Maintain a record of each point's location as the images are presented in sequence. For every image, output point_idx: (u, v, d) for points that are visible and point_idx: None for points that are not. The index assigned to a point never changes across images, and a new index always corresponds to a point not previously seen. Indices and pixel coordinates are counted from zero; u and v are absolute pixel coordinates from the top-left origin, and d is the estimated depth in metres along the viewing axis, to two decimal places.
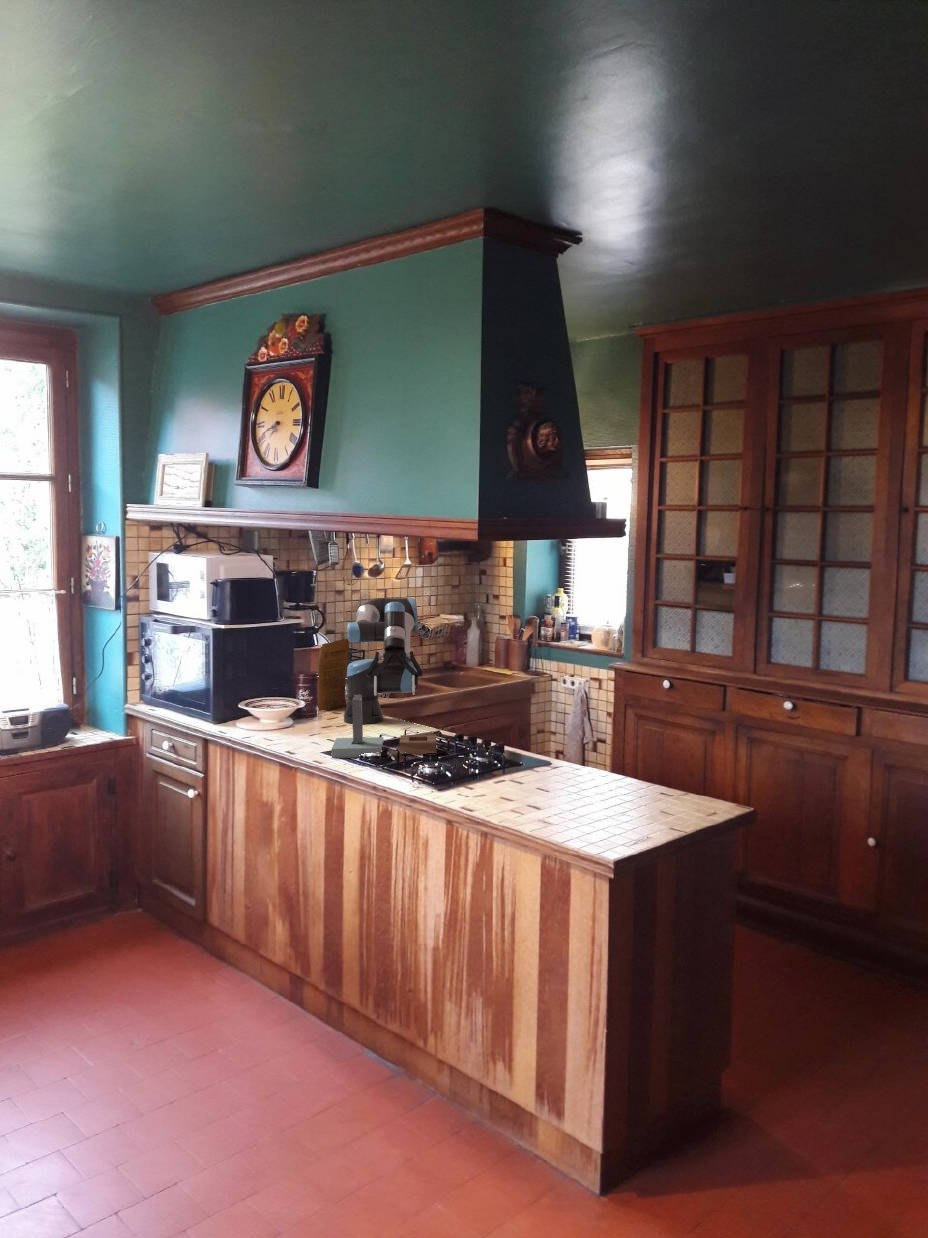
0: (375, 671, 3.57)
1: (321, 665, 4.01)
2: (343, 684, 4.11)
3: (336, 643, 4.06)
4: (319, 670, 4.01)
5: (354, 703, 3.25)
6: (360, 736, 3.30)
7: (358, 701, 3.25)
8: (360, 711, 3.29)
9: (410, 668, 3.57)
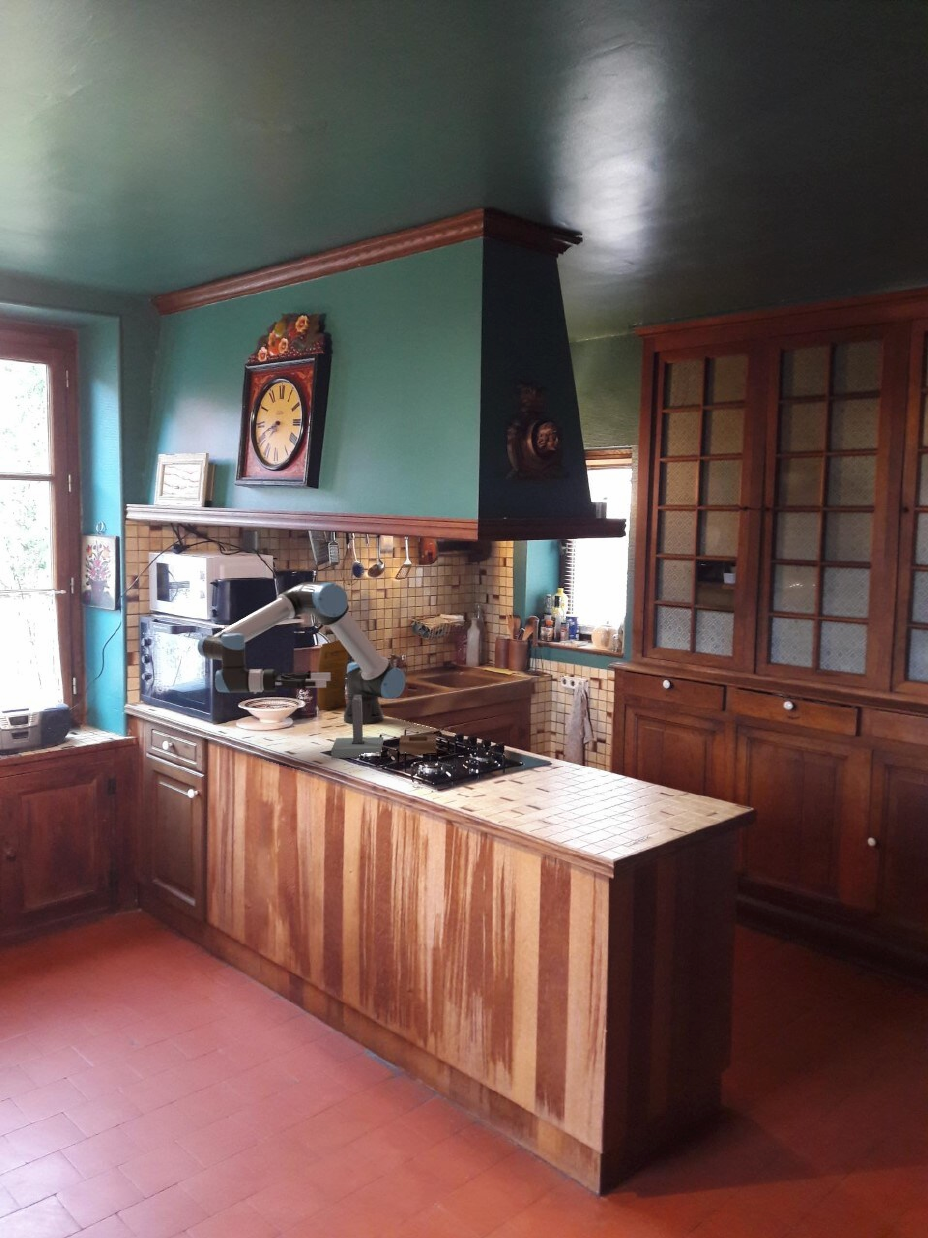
0: (305, 680, 3.36)
1: (321, 665, 4.01)
2: (343, 684, 4.11)
3: (336, 643, 4.06)
4: (319, 670, 4.01)
5: (354, 703, 3.25)
6: (360, 736, 3.30)
7: (358, 701, 3.25)
8: (360, 711, 3.29)
9: None
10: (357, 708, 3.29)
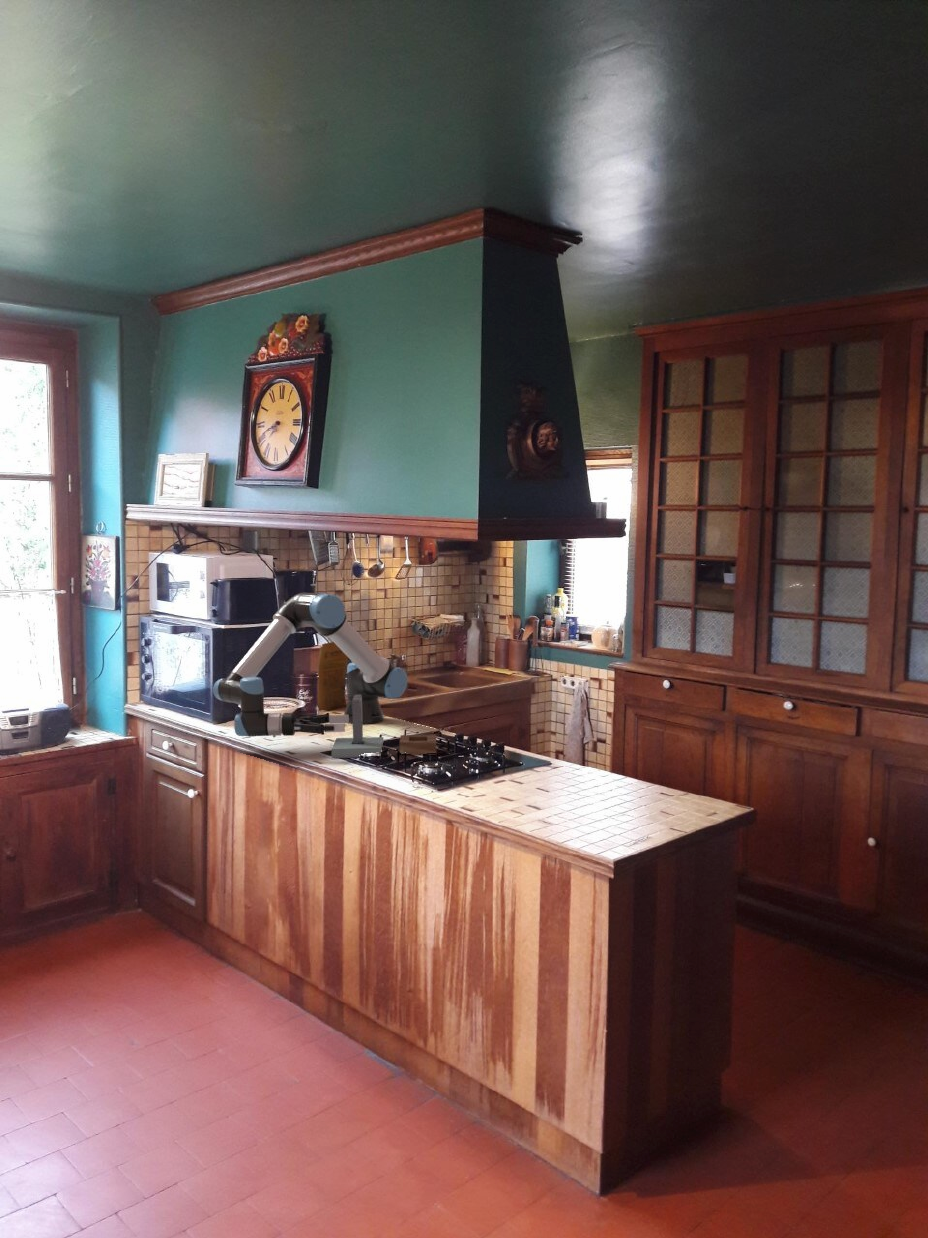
0: None
1: (321, 665, 4.01)
2: (343, 684, 4.11)
3: None
4: (319, 670, 4.01)
5: (354, 703, 3.25)
6: (360, 736, 3.30)
7: (358, 701, 3.25)
8: (360, 711, 3.29)
9: None
10: (357, 708, 3.29)
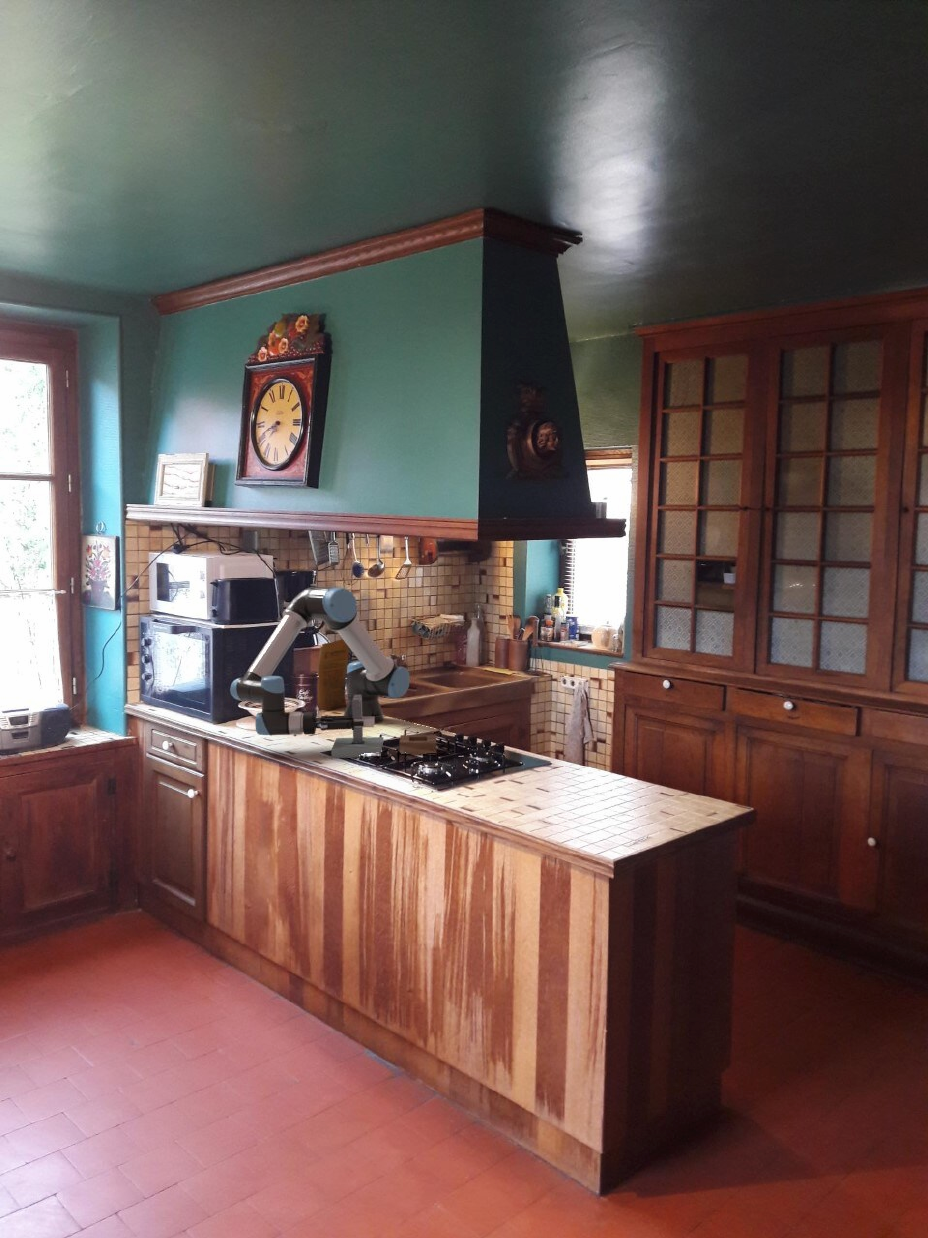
0: None
1: (321, 665, 4.01)
2: (343, 684, 4.11)
3: (336, 643, 4.06)
4: (319, 670, 4.01)
5: (354, 703, 3.25)
6: (360, 736, 3.30)
7: (358, 701, 3.25)
8: (360, 711, 3.29)
9: None
10: (357, 708, 3.29)
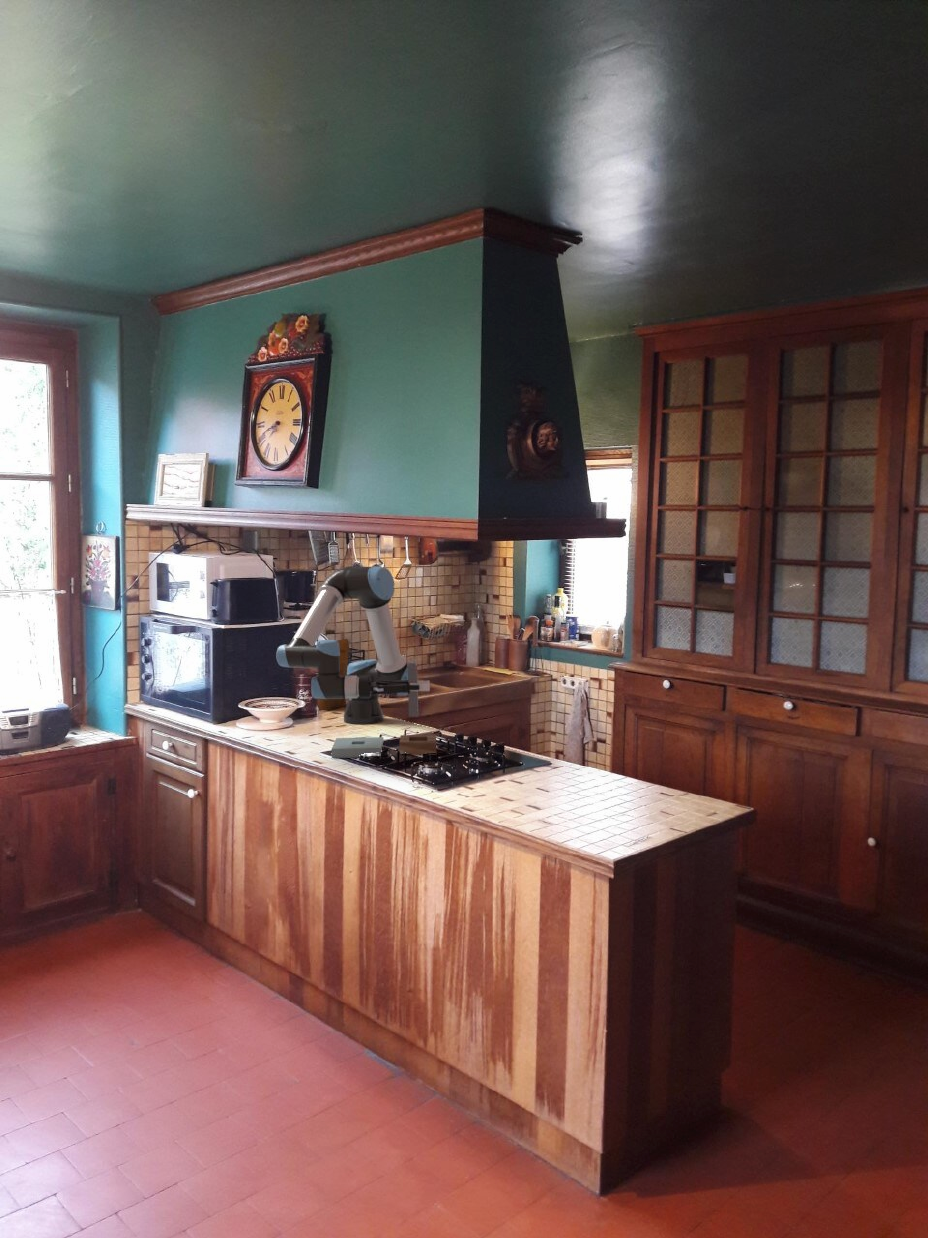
0: None
1: None
2: None
3: None
4: None
5: (410, 666, 3.24)
6: (415, 700, 3.29)
7: (414, 664, 3.24)
8: (416, 675, 3.28)
9: None
10: (413, 672, 3.28)
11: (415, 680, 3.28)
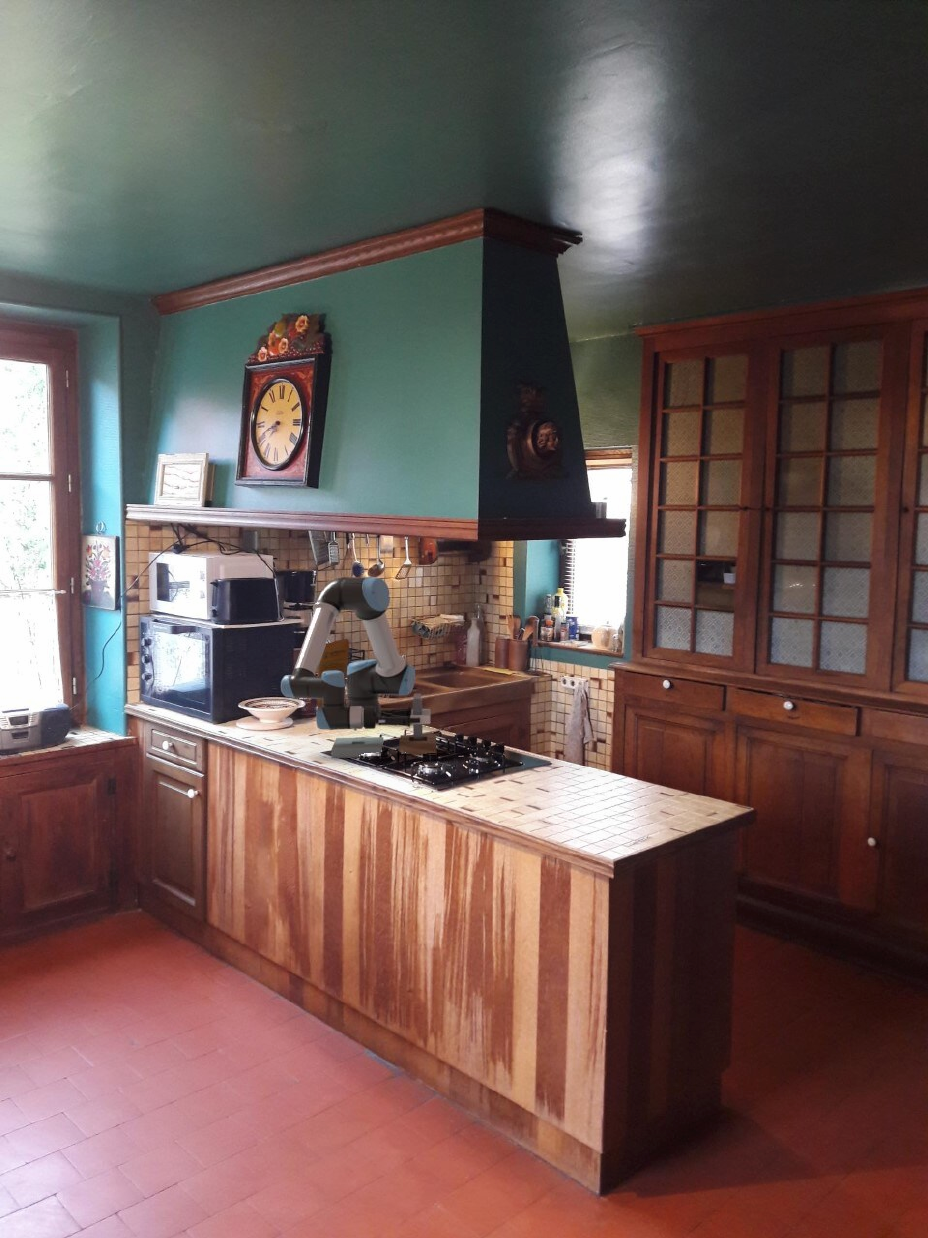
0: None
1: (321, 665, 4.01)
2: None
3: (336, 643, 4.06)
4: (319, 670, 4.01)
5: (415, 702, 3.26)
6: (420, 734, 3.30)
7: (419, 700, 3.26)
8: (421, 710, 3.30)
9: None
10: (418, 707, 3.29)
11: (420, 715, 3.30)
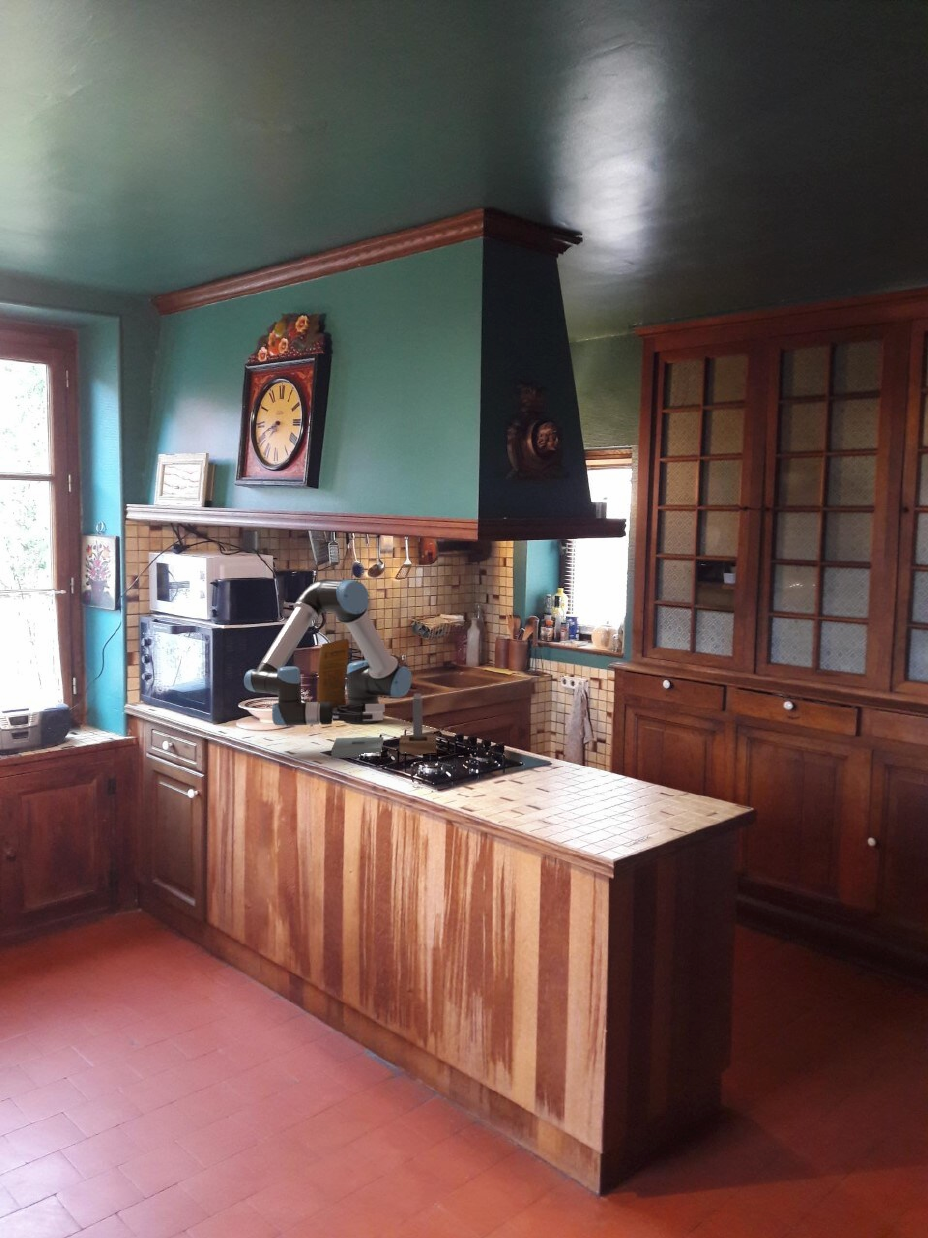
0: None
1: (321, 665, 4.01)
2: (343, 684, 4.11)
3: (336, 643, 4.06)
4: (319, 670, 4.01)
5: (415, 702, 3.26)
6: (420, 734, 3.30)
7: (419, 700, 3.26)
8: (421, 710, 3.29)
9: None
10: (417, 707, 3.29)
11: (420, 715, 3.30)
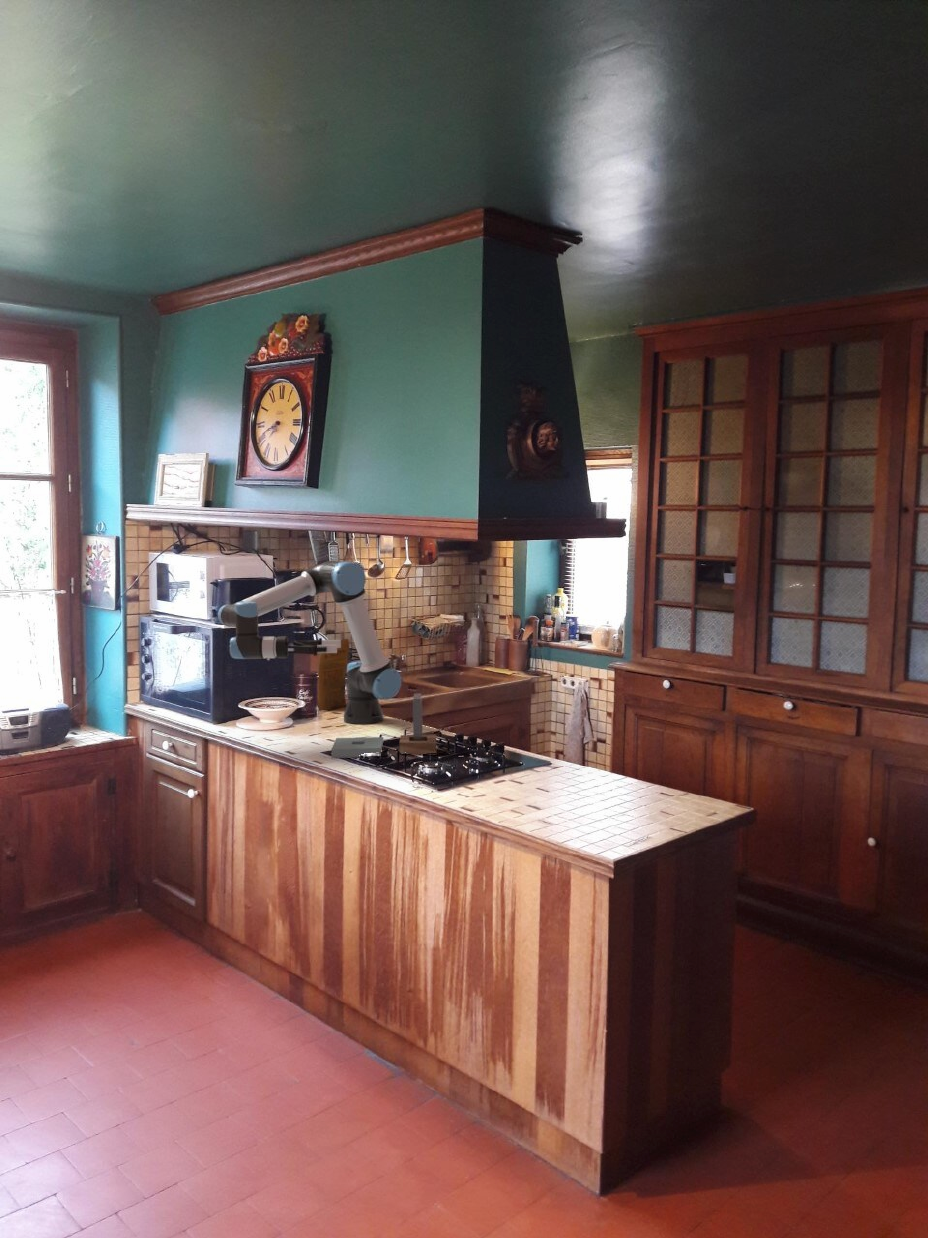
0: None
1: (321, 665, 4.01)
2: (343, 684, 4.11)
3: None
4: (319, 670, 4.01)
5: (415, 702, 3.26)
6: (420, 734, 3.30)
7: (419, 700, 3.26)
8: (421, 710, 3.29)
9: None
10: (417, 707, 3.29)
11: (420, 715, 3.30)
